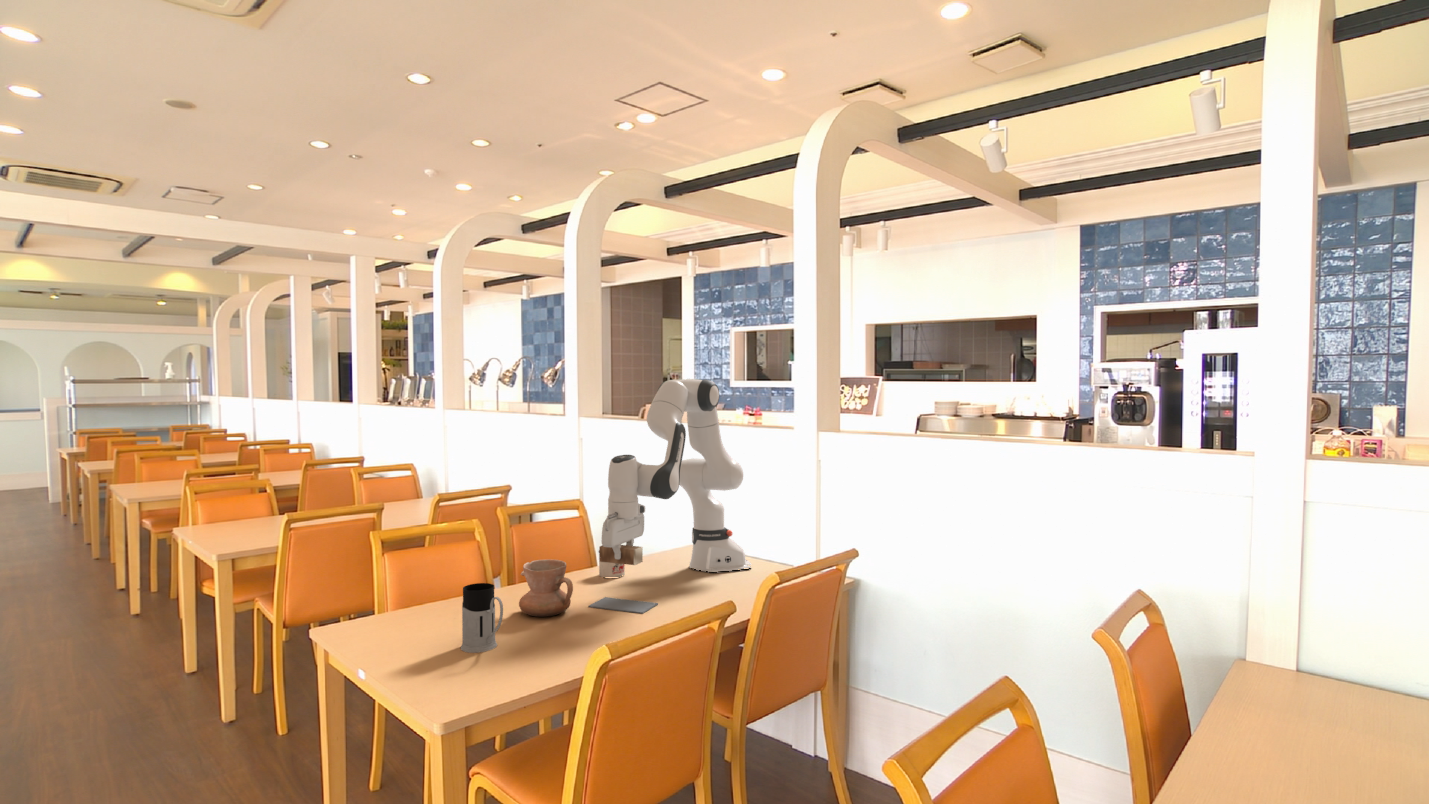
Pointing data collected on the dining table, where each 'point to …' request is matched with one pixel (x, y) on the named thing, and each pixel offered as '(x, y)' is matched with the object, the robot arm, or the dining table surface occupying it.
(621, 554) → the robot arm
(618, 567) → the teacup with lid
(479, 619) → the glass holder
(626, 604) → the rubber mat
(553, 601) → the ceramic jug
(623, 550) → the walnut block
